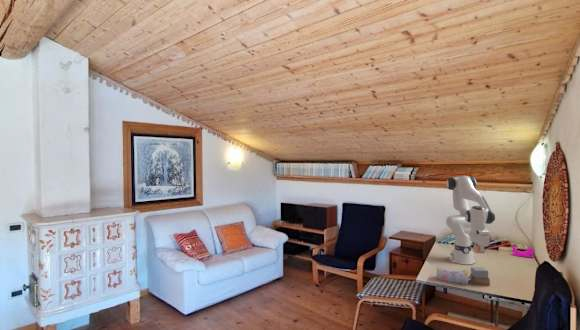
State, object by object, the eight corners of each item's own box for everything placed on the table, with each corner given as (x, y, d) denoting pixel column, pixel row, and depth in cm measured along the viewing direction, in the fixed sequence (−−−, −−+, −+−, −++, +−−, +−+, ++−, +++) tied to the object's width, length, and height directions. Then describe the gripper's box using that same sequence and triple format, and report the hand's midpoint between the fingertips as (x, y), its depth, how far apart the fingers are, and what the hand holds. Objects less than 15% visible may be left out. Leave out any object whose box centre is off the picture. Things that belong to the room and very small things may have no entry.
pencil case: (469, 282, 232) (469, 269, 232) (469, 286, 225) (468, 272, 225) (437, 278, 243) (436, 265, 243) (435, 282, 235) (435, 268, 235)
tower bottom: (470, 281, 236) (469, 274, 236) (483, 281, 235) (483, 274, 235) (475, 285, 227) (475, 278, 227) (489, 285, 226) (489, 278, 226)
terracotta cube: (473, 251, 234) (473, 244, 234) (481, 251, 233) (480, 244, 233) (477, 253, 229) (476, 246, 229) (484, 253, 228) (484, 245, 228)
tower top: (471, 274, 236) (470, 267, 236) (483, 274, 235) (482, 267, 235) (475, 278, 228) (475, 270, 228) (488, 278, 227) (488, 270, 227)
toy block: (532, 255, 295) (532, 247, 295) (533, 257, 290) (533, 248, 290) (512, 253, 303) (512, 245, 303) (512, 255, 298) (512, 247, 298)
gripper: (466, 227, 242) (467, 246, 242) (480, 232, 221) (481, 253, 221) (475, 227, 241) (476, 246, 241) (490, 232, 221) (491, 253, 221)
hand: (479, 250), depth 231 cm, fingers closed on terracotta cube, 5 cm apart
